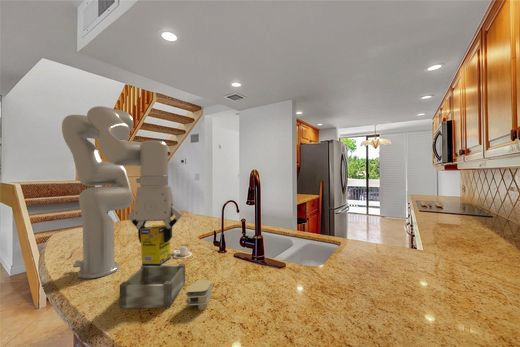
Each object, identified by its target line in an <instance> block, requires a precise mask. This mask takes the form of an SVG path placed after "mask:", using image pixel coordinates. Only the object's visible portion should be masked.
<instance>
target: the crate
mask: <svg viewBox="0 0 520 347" xmlns="http://www.w3.org/2000/svg"><path fill="white" fill-rule="evenodd" d="M185 283H186V263H178V264H169V265H168V264H165V265H164V264H162V265H161V266H142V265H141V266H140V268H139V269H138V270H137V271H136V272H134V274H132V275H131V276H129V278H128V279H127V280H125V281H123V282H121V283H120V284H119V309H147V308H148V309H151V308H152V309H153V308H159V309H160V308H171V307H172V305H173V304H174V302H175V300H176V298H177V297H178V296H179V294H180V292H181V290H182V288H184V286H185Z"/></svg>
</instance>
